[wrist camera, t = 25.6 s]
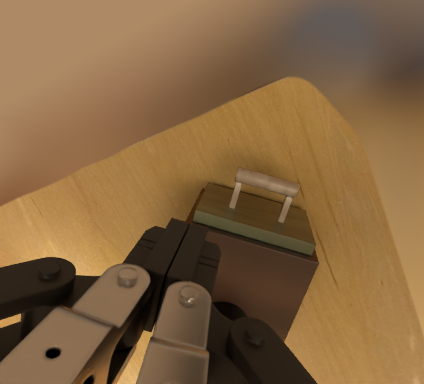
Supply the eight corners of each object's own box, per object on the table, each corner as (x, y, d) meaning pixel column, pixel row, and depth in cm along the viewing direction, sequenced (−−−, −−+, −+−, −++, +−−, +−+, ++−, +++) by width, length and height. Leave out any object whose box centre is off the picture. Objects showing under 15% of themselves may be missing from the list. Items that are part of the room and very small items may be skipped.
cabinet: (202, 188, 39) (184, 223, 30) (306, 217, 39) (319, 263, 30) (179, 279, 44) (157, 333, 35) (270, 307, 44) (272, 369, 35)
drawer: (217, 147, 36) (206, 167, 29) (319, 176, 36) (333, 204, 29) (185, 271, 43) (169, 312, 35) (271, 297, 42) (273, 344, 35)
